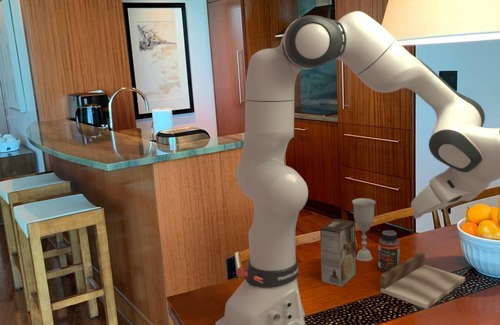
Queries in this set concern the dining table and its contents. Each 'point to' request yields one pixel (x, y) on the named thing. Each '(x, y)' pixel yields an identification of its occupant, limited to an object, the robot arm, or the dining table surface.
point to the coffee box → (338, 252)
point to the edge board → (418, 282)
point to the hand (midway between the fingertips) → (427, 211)
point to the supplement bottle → (388, 251)
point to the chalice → (363, 223)
